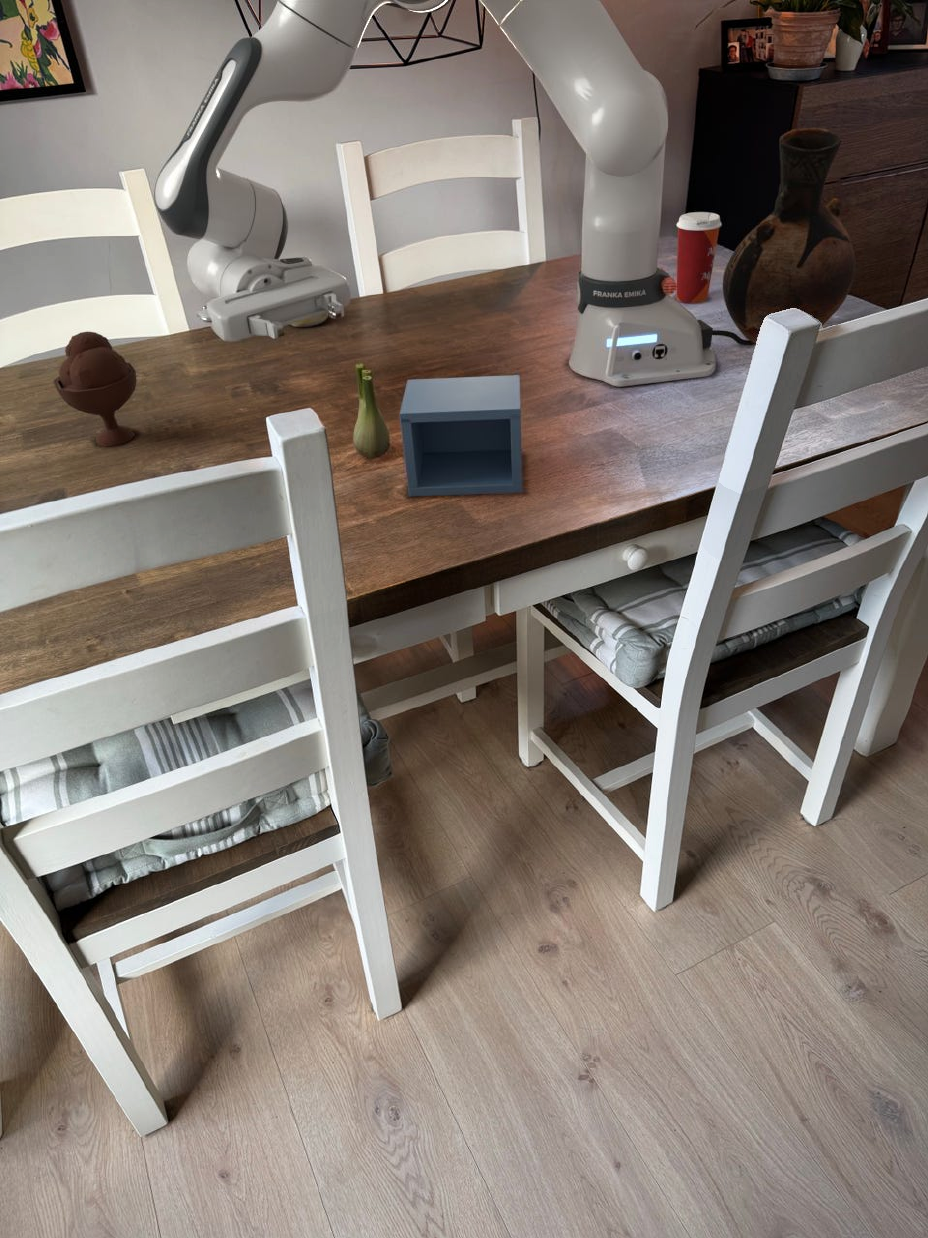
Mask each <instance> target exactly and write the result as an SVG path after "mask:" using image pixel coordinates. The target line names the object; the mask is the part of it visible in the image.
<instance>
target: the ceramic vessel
mask: <svg viewBox="0 0 928 1238" xmlns="http://www.w3.org/2000/svg"><path fill="white" fill-rule="evenodd" d="M778 143H779V162H780V184H779V187H778V194H777V197H776V200H775V204H774V209H773V211H772V213H770V214H769V215H768V216H767V217H766V218H765V219H763V220H762V221H761V222H760V223H759V224H758V225H756V226H755V227H754V228H753V229H752V230H751V231H750V232H749V233H748V234H747V235H746V236H745V237H744V238H743V240H742V241H741V242H740V243H739V244H738V245H737V247H736V248H735V249H734V251H733V253H732V255H731V256H730V258H729V260H728V262H727V264H726V267H725V269H724V272H723V277H722V295H723V300H724V304H725V308H726V310H727V312H728V315H729V316H730V318H731V320H732V322H733V324H734V325H735V326H736V327H737V329H738V330H739V331H740V333H741V334H742V335H743V337H745V338H746V340H750V341H751V342H753V343H755V344H756V341H757V337H758V334H759V331H760V327H761V325H762V323H763V320H764V318H765V317H766V316H767V315H769V314H771V313H775V312H779V311H782V310H786V309H790V308H797V309H800V310H802V311H804V312H806V313H808V314H810V315H812V316H813V317H814V318H816V319H818V320H819V321H820V322H821V323H822V327H823V326H824V325H825V324H826V323H827V322H828V321H829V320H830V319H831V318H832V317H833V316H834V315H835V314H836V312H837V311H838V310H839V309H840V308H841V306H842V305H843V304H844V303H845V300H846V298H847V297H848V295H849V293H850V291H851V289H852V285H853V283H854V279H855V275H856V256H855V250H854V247H853V243H852V240H851V238H850V234H849V233H848V231H847V229H846V228H845V227H844V225H843V222H842V219H841V213H842V201H841V200H840V199H839V198H836V197H835V198H832V200H830V201H829V202H828V203H827V204H826V205H825V206H824V207H823V206H822V200H823V193H824V190H825V185H826V181H827V177H828V175H829V172H830V170H831V167H832V165H833V162H834V160H835V158H836V156H837V154H838V152H839V149H840V146H841V144H842V139H841V137H840V136H839V135H838V134H837V133H835V132H833V131H831V130H829V129H826V128H821V127H808V128H807V127H806V128H805V127H804V128H794V129H791V130H789V131H786V132H785V133H783V134H782V135H781V136H780V137H779V141H778Z"/></svg>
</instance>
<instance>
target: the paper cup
mask: <svg viewBox="0 0 928 1238" xmlns="http://www.w3.org/2000/svg"><path fill="white" fill-rule="evenodd" d="M722 225H723V223H722V222H721V217H720V215H719V214H717V213H715V212H708V211H694V212H688V213H683V214H681V215H680V216H679V219H678V221H677V222H676V227H677V249H676V250H677V252H676V253H677V254H676V280H675V283H676V284H677V285H676V286H677V288H676V291H675V298H676V299H675V300H676V301H677V302H679V303H685V304H698V303H704V302H705V301H707V300H708V298H709V297H708V296H709V291H710V285H711V280H712V273H713V270H714V269H713V267H714V263H715V256H716V250H717V244H718V239H719V232H720V228H721V227H722Z"/></svg>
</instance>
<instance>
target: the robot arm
mask: <svg viewBox="0 0 928 1238" xmlns="http://www.w3.org/2000/svg"><path fill="white" fill-rule="evenodd" d="M451 1H452V0H277V1H276V5H275V6H274V9H273V11H272V13H271V14H270V16H269V18H268V19H267V21H266V22H265V23H264V25H262V27H261V28H260V29H259V30H258V31H257V32H256V33H255V34H253V35H252V36H250V37H243V38H240V39H239V40H238V41H236V42H235V44H234V45H233V46H232V48H230V50H229V52H228V53H227V55H226V56H225V58H224V60H223V61H222V62H221V65H220V67H219V69H218V70H217V72H216V74H215V76H214V78H213V79H212V81H211V83H210V85H209V87H208V89H207V91H206V93H205V95H204V97H203V99H202V101H201V102H200V104H199V106H198V109H197V110H196V112H195V114H194V115H193V118H192V120H191V121H190V123H189V125H188V127H187V129H186V131H185V133H184V135H183V136H182V138H181V140H180V142H179V144H178V146H177V147H176V148H175V150H174V151H173V153H172V154H171V155H170V156H169V158H167V160H166V162H165V163H164V165H162V168H161V169H160V171H159V173H158V175H157V178H156V182H155V184H154V190H153V200H154V201H153V202H154V205H155V207H156V209H157V212H158V214H159V215H160V218H161V219H162V221H163V222H164V224H165V225H166V227H167V228H168V229H169V230H170V231H171V232H172V233H173V234H174V235H177V236H182V237H186V238H191V239H195V240H198V241H196V242H195V243H193V245H192V246H191V248H190V249H189V251H188V254H187V258H186V265H187V266H186V267H187V271H188V274H189V277H190V279H191V281H192V282H193V284H194V285H195V287H196V288H197V290H199V292H201V293H202V294H203V295H204V296H205V297H206V298H208V299H209V301H208V302H207V303H206V305H203V306H202V308H201V309H200V310H198V311H196V316H197V318H198V319H199V320H200V321H202V322H204V323H207V324H209V326H210V328H211V330H212V331H213V332H214V333H215V335H217V336H218V337H219V338H220V339H221V340H222V341H224V342H228V343H235V342H238V341H241V340H245V339H248V338H251V337H254V336H262V337H270V338H271V339H273V340H275V339H278V338H281V337H284V336H285V331H284V327H286V326H289V325H291V324H293V323H296V322H299V321H303V320H306V319H309V318H312V317H315V316H319V315H322V314H325V313H328V318H330V319H333V320H339V319H341V318H344V317H345V308H347V307H349V306H350V305H351V289H350V283H349V281H348V279H347V278H346V277H344V276H343V275H342V274H340V273H338V272H336V271H334V270H332V269H329V268H327V267H324V266H321V265H313V262H312V260H311V258H309V257H306V256H300V257H288V258H281V255H282V253H283V251H284V249H285V246H286V242H287V238H288V233H289V221H288V214H287V210H286V207H285V204H284V201H283V199H282V198H281V195H280V194H279V193H278V192H277V191H276V190H275V189H274V188H272V187H269V186H267V185H265V184H262V183H259V182H257V181H255V180H252V179H249V178H246V177H244V176H240V175H238V174H235V173H232V172H230V171H227V170H225V169H222V168H220V167H218V165H219V163H220V161H221V160H222V158H223V156H224V154H225V152H226V150H227V148H228V146H229V144H230V143H231V141H232V139H233V137H234V135H235V133H236V132H237V130H238V128H239V126H240V125H241V123H242V121H243V119H244V117H245V116H246V115H247V114H248V113H249V112H250V111H252V110H253V109H254V108H256V107H258V106H261V105H263V104H268V103H274V102H297V103H300V102H301V103H302V102H312V101H317V100H320V99H323V98H325V97H327V96H329V95H331V94H333V93H334V92H336V91H337V90H338V89H339V87H340V86H341V84H342V83H343V82H344V80H345V79H346V76H347V75H348V73H349V71H350V68H351V66H352V64H353V61H354V59H355V56H356V53H357V50H358V48H359V45H360V44H361V41H362V38H363V36H364V33H365V30H366V28H367V26H368V24H369V22H370V20H371V18H372V16H373V15H374V13H375V12H376V11H377V10H378V9H379V7H381V6H383V5H385V6H388V7H393V8H397V9H401V10H405V11H408V12H412V13H416V14H430V13H434V12H437V11H440V10H441V9H443V8H444V7H445V6H448V4H449V3H450V2H451ZM479 2H480V3H481V4H482V5H483V6H484V7H485V9H486V10H487V12H488V13H489V14H490V15H491V17H492V18H493V20H494V21H495V22H496V24H497V25H498V26H499V28H500V29H501V31H502V32H503V33H504V35H506V37H507V39H508V41H509V42H510V43H511V44H512V46H513V47H514V48H515V50H516V51H517V52H518V53H519V55H520V56H521V57H522V59H523V60H524V62H525V63H526V64H527V66H528V67H529V68H530V70H531V71H532V73H533V74H534V75H535V76H536V78H537V79H538V81H539V82H540V84H541V85H542V88H544V90H545V92H546V94H547V95H548V97H549V99H550V100H551V102H552V104H553V105H554V107H555V109H556V110H557V112H558V114H559V115H560V117H561V119H563V121H564V123H565V125H566V126H567V128H568V129H569V131H570V132H571V134H572V135H573V137H574V138H575V140H576V141H577V143H578V145H579V146H580V148H581V149H582V151H583V152H584V153H585V169H584V186H583V187H584V188H583V203H582V204H583V205H582V223H581V226H582V227H581V269H579V271H578V275H577V280H576V281H577V283H576V307H577V310H578V317H577V327H576V331H575V332H576V333H575V338H574V343H573V347H572V350H571V354H570V358H569V360H568V366H569V368H570V369H571V370H572V371H573V372H575V373H576V374H578V375H580V376H583V377H586V378H589V379H592V380H593V379H594V380H597V381H598V380H599V381H602V382H605V383H606V384H609V385H610V386H613V387H618V388H619V387H620V388H622V387H630V386H638V385H646V384H647V385H648V384H654V383H656V384H657V383H662V382H672V381H680V380H687V379H695V378H704V377H709V376H711V375H712V374H713V373H714V372H715V371H716V366H717V365H716V364H717V363H716V356H715V353H714V352H713V349H712V342H713V341H712V340H713V336H714V337H715V336H720V337H727V338H730V339H732V340H733V341H734V342H735V343H736V344H738V345H742V346H756V344H755V343H753V342H751V341H750V340H748V339H744V338H741V337H740V336H739V335H738V334H737V333H735V332H732V331H730V330H729V331H728V330H724V329H723V330H722V329H721V330H720V329H714V328H713V327H712V326H711V325H709V324H707V323H706V322H705V321H703V320H702V319H697V317H696V316H695V315H694V314H693V313H692V312H691V311H690V310H688V309H687V308H686V307H685V306H684V305H682V304H681V302H679V301H678V300H677V299H674V297H672V296H671V295H673V294H675V292H676V288H677V286H676V285H677V284H676V280H675V279H674V278H673V277H671V276H670V273H668V272H666V270H665V269H664V268H663V267H661V268H660V267H659V266H658V262H659V261H658V259H659V248H660V247H659V245H660V234H661V233H660V232H661V220H662V218H661V217H662V202H663V186H664V172H665V171H664V170H665V155H666V142H667V141H666V140H667V136H668V131H669V130H668V129H669V107H668V106H669V105H668V99H667V95H666V91H665V90H664V87H663V86H662V84H661V82H660V81H659V80H658V79H657V77H655V76H654V74H652V73H651V72H649V71H647V70H645V69H643V67H642V66H641V64H640V63H639V61H638V60H637V58H636V57H635V55H634V53H633V51H632V49H630V47H629V45H628V44H627V42H626V41H625V39H624V38H623V36H622V34H621V33H620V31H619V29H618V27H617V26H616V24H615V23H614V21H613V19H612V18H611V17H610V14H609V13H608V11H607V9H606V8H605V6H604V5H603V4H602V1H600V0H479Z"/></svg>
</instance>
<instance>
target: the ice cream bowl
mask: <svg viewBox="0 0 928 1238" xmlns="http://www.w3.org/2000/svg"><path fill="white" fill-rule="evenodd" d="M64 352H65V357H67V358H66V359H64V360H63V361H62V363H61V364H60V365H59V369H58V375H59V376H57V377H56V378H55V379H53V381H52V383H53V385H54V386H55V389H56V391H57V392H58V394H59V396H60V398H61V399H62V400H63V401H64V402H65V403H66V405H68V406H70V407H71V408H73V409H75V410H77V411H78V412H82V413H85V414H90V415H95V416H100V418H101V419H102V421H103V425H104V427H105V428H104V429H102V430H101V431H100V432H99V433H98V434H97V435H96V436H95V442H96V444H97V445H98V446H101V447H107V448H108V447H116V446H121V445H123V444H125V443H127V442H130V441H131V440H133V438H134V437H135V436H136V434H135V432H134V431H133V429H132V428H131V427H129V426H123V425H120V424H118V422H117V419H116V417H115V415H116V412H117V411H118V410H120V409H121V408H122V407H123V406H124V405H125V404H126V403H127V402H128V401H129V400H130V399H131V397H132V395H133V394H134V392H135V390H136V386H137V373H136V372H137V371H136V369H135V368H134V366H133V364H132V363H131V362H126V360H125V358H124V357H123V355H121V354H119V353H118V352H117V351H116V350H114V349H113V346H112V344H111V343H110V341H109V339H108V338H107V337H106V336H103V335H102V334H100V333H97V332H94V331H82V332H79V333H77V334H75V335H72V336H71V338H70V340H69V341H68V344H67V345H66V346H65V350H64Z"/></svg>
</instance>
